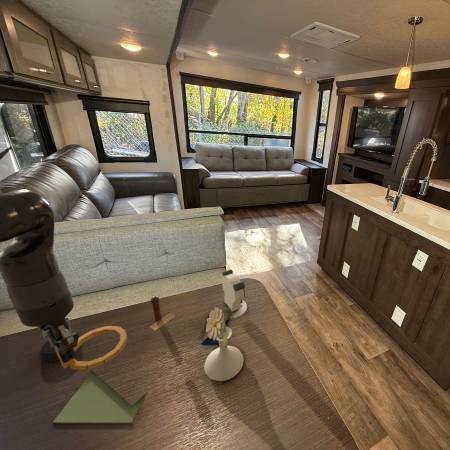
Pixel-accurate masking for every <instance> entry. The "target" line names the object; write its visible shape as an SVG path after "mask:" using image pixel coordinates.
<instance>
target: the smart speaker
mask: <svg viewBox="0 0 450 450" xmlns="http://www.w3.org/2000/svg"><path fill="white" fill-rule="evenodd" d="M38 355H39V357H40V359H41V361H42V362H44V363H45V362H46V363H53V362H58V361H60V359H59V358H58V356H57V354H56V352H55V349H54V347H52V346H51V345H50V342H49V341H47V340H46V341H45V342H44V343H43V344H42V345H41V347H40V348H39V350H38Z"/></svg>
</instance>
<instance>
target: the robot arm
mask: <svg viewBox="0 0 450 450" xmlns="http://www.w3.org/2000/svg"><path fill="white" fill-rule="evenodd" d="M53 210H54V209H53V207H52V206H51V204H50V203H49V201H48V200H47V199H46V198H45V197H44V196H43V195H41V194H39V192H36V191H34V190H30V189H17V190H12V191H11V190H10V191H8V192H7V191H6V192H4V193H0V243H4V242H8V241H11V240H12V239H13V240H12V241H11V243H10V244H8V245H7V246H6V247H4V248H3V249H1V250H0V275H1V277H2V279H3V281H4V283H5V285H6V291H7V295H8V297H9V299H10V301H11V303H12V306H13V308H14V310H15V311H16V314H17V316H18V318H19V321H20V323H21V324H22V325H23V326H26V327H28V328H29V327H30V328H37V330H39V331H40V333H41V335H42V337H43V339H44V340H45V341H46V342H47V341H49V342H50V345H51V346H52V347H54V346H55V347H56V350H55V352H56V351H57V352H58V353H59V356H60V358H61V360H62V362H63V363H66V362H68V361H70V360H71V359H73V358H74V359H75V358H76V356H77V354H76V351H74V349H73V348H74V347H76V346H77V344H78V339H79V337H80V335H79V334H78V333H77V332H74V331H73V329H72V327H71V325H72V322H71V320H70V318H69V317H68V315H69V314H70V313H71V312H72V310H73V309H74V307H75V304H74V300H73V297H72V294H71V291H70V288H69V286H68V283H67V279H66V277H65V275H64V274H63V271H62V270H61V267H60V265H59V262H58V260H57V257H56V254H55V252H54V244H55V226H56V225H55V224H56V223H55V222H56V221H55V214H54V211H53ZM54 349H55V348H54ZM57 352H56V354H57ZM57 356H58V355H57ZM58 358H59V357H58Z"/></svg>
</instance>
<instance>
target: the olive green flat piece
mask: <svg viewBox="0 0 450 450" xmlns="http://www.w3.org/2000/svg"><path fill="white" fill-rule="evenodd" d="M148 393H149V391H147V392H145V394H143V395H142V396H141V397H140V398H139V399H138V400H137V401H136V402H135V403H133V404H131V403H130V402H129V401H128V400H126V399H125V398H124V397H123V396H122V395H121V394H120V393H119V392H118V391H116V390H115V389H114V388H113V387H112V386H110V384H108V383H107V381H105V380H104V379H102V378H101V377H100V376H99V375H98V374H97V373H96V372H95V371H94V370H91V372H90V373H89V375H88V376H87V377H86V378H85V380H84V381H83V383H81V385H80V386H79V388H77V390H76V391H75V393H73V395H72V396H71V398H70V399H69V400H68V401H67V403H66V404H65V406H64V407H63V408H62V409H61V410H60V412H59V413H58V414H57V416H56V417H55V419H54V420H53V421H52V423H53V424H133V422H134V420H135V418H136V416H137V415H138V413H139V410H140V409H141V406H142V405H143V404H144V403H143V402H144V401H145V399H146V397H147V395H148Z"/></svg>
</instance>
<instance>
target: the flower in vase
mask: <svg viewBox="0 0 450 450" xmlns="http://www.w3.org/2000/svg"><path fill="white" fill-rule="evenodd" d="M225 322H226V320H225V315H224V311H223V310H222V308H219V307H214V309H211V310H210V312H209V318H207V319H206V327H205V328H206V329H205V333H207V338H208V337H209V338H210V339H211V338H212V336H213V340H215V339H216V340H218V342H219V345H218V346H219V347H217V348H214V350H212V351H211V352H210V353H209V354H208V356H207V357H206V359H205V362H204V372H205V374H206V376H207V377H208V378H209V379H211V380H213V381H217V382H225V381H228V380H231V379H232V378H234V377H235V376H236V375H237V374H239V372H240V371H241V370H242V368H243V366H244V355H243V353H242V352H241V350H240V349H239V348H237V347H235V346H234V345H228V343H229V339H230V338H231V337H232V334H233V330H232V328H230V327H229V326H228V327H226V324H225Z"/></svg>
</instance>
